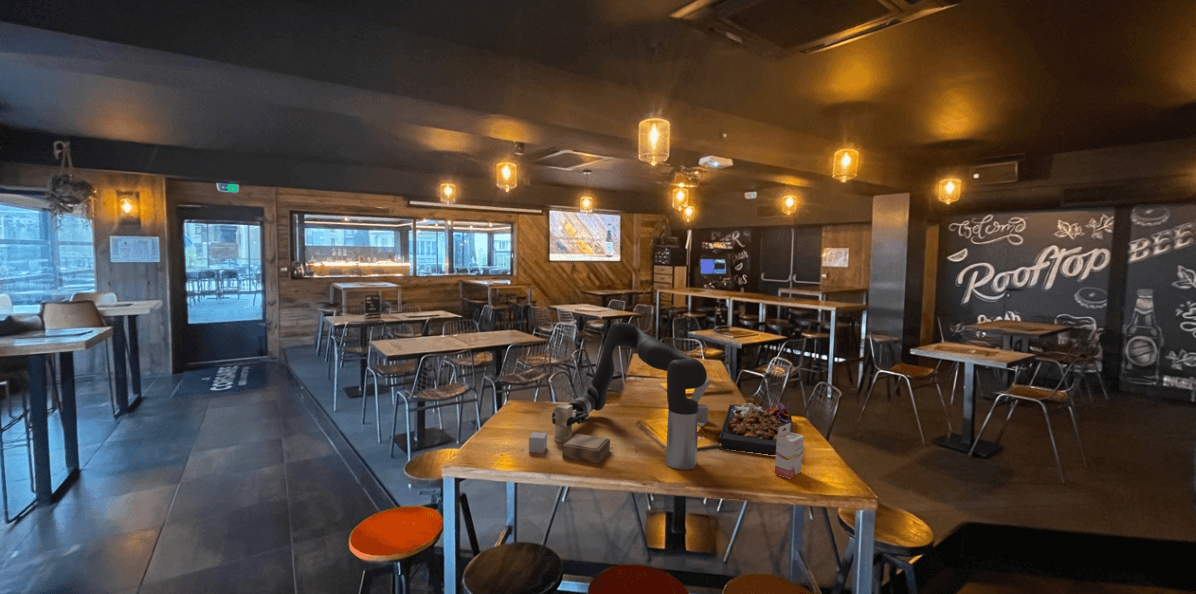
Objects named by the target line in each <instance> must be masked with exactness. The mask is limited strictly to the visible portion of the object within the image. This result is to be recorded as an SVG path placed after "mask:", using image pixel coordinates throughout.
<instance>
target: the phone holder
mask: <svg viewBox="0 0 1196 594" xmlns="http://www.w3.org/2000/svg"><path fill="white" fill-rule="evenodd" d="M711 381H712V378H709V377H708V376H707V379H706V382H705V383H704V384H703V385H702V386H701V387H698V388H694V390H693V392H692V395H691V397H690V399H692V400H695V401H696V402H697V403H698V423H697V424H698V425H700V426H701V427H702V426H703V425H704V426H706V424H708V423H709V405H707V404H702V403H699V401H700V400H701V399H702V397H703V395H704V394H705V392H706V391H707V389H708V388H709V387H710V384H711ZM704 426H703V427H704ZM703 427H702V428H703Z"/></svg>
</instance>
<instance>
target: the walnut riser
mask: <svg viewBox="0 0 1196 594" xmlns="http://www.w3.org/2000/svg"><path fill="white" fill-rule="evenodd" d="M610 445H611V438H608V437H607V438H606V437H601V436H594V435H586V434H582V433H575V434H574V435H573V436H572V438H571V439H569V440H568V441H567V442H566V443H563V445H562V451H561V452H562V453H561V454H562V456H561V457H562V459H569V460H575V461H580V462H587V463H594V464H599V463H600V462H601V461H602V460H603V459H604V458H605V457H606V455H607V454H608V453H609V451H610V450H611V449H610V448H611V447H610Z"/></svg>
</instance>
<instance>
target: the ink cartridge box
mask: <svg viewBox="0 0 1196 594" xmlns="http://www.w3.org/2000/svg"><path fill="white" fill-rule="evenodd" d="M790 427H791V423H789V424H787V425H784V426H782V427H779V429H778V435H777V445H776V457H775V459H774V460H775V461H774V475H775V474H777V475H781V476H784V477H786V478H790V477H792V476H794V475H795V474H797V473H798V472H800V471H801V472H802V464H803V453H804V441H805V440H804V439H805V435H802V434H799V433H794V432H793V433H791V432H790ZM784 428H786V430H785V431H782V430H783V429H784ZM777 475H776V476H777ZM794 477H795V476H794ZM786 478H785V479H786ZM792 478H793V477H792Z"/></svg>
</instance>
